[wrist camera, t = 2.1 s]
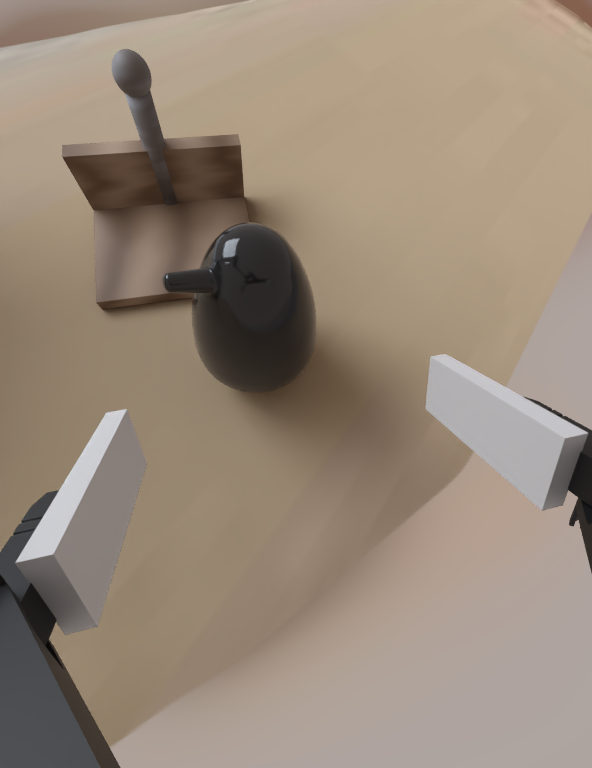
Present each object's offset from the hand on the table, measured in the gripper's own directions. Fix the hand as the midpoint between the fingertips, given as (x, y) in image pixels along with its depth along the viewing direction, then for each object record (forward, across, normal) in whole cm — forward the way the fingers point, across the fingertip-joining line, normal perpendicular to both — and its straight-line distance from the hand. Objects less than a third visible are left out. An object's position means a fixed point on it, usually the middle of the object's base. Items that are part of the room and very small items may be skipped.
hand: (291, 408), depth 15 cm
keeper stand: (+28, -6, +6) cm, 29 cm away
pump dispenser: (+18, 0, -4) cm, 19 cm away
